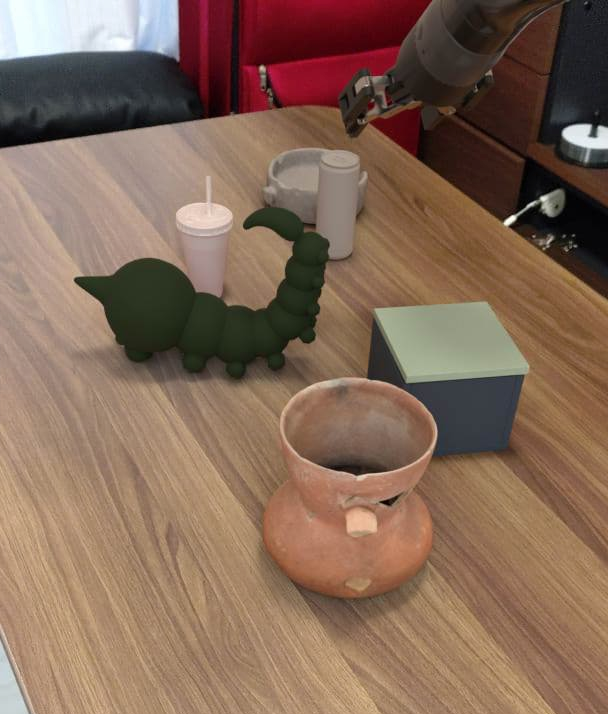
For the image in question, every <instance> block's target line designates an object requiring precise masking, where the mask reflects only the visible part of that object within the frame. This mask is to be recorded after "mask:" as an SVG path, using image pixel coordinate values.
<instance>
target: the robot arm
mask: <svg viewBox="0 0 608 714" xmlns="http://www.w3.org/2000/svg"><path fill="white" fill-rule="evenodd" d="M569 1H570V0H432V1H431V2H430V3H429V5H428V6H427V7H426V9H425V10H424V12H423V13H422V14H421V16H420V17H419V18H418V20H417V22H416V23H415V24H414V25H413V27H412V28H411V29H410V31H409V32H408V34H407V35H406V37H405V38H404V40H403V41H402V43H401V45H400V48H399V51H398V54H397V58H396V62H395V64H394V65H393V66H392V67H390V68H389V69H387V70H386V71H385V72H384V73H383V75H376V76H375V75H373V76H372V75H371V74H372V73H371V69H370V68H369V67H363V68H360V69H358V70H357V71H356V73H355V74H354V75H353V76H352V78H351V79H350V80H349V81H348V83H347V84H346V85H345V87H344V88H343V89H342V90H341V92H340V93H339V95H338V96H337V101H338V105H339V110H340V114H341V120H342V123H343V125H344V130H345V134H346V135H348V137H349V139H357V138H358V137H359V136H360V135H361V133H362V132H363V131H364V130H365V129H366V127H367V126H368V124H369V123H370V122H372V121H374V120H376V119H378V118H381V119H384V120H387V119H390V118H391V117H393V116H396V115H397V114H399V113H401V112H403V111H405V110H413V109H416V108H418V107H419V108H421V111H420V117H421V121H422V125H423V129H424V131H433V130H434V128H435V127H436V126H437V125H438V124H440V123H441V122H442V121H443V120H444V119H445V118H446V117H447V116H448V117H449V116H453V115H454V114H455V113H456V112H457V110H456V109H460V108H461V109H462V112H470V111H472V110H474V108H475V107H476V106H477V105H478V104H479V102H481V101H482V99H483V98H484V97H485V96H486V95H487V93H488V92H490V90H491V89H492V88H493V86H494V85H495V81H494V78H493V77H494V76H493V75H494V74H493V70H492V69H493V68H494V67H495V66H496V65H497V63H498V62H499V61H500V59H501V58H502V57H503V55H504V54H505V52H506V50H507V49H508V47H509V46H510V45H511V44H512V42H514V40H515V39H516V38H517V37H518V36H519V35H520V33H522V32H523V31H524V29H526V27H527V26H528V25H530V23H532V22H533V21H534V20H536V19H537V18H538V17H540V16H541V15H542V14H544V13H546V12H547V11H549V10H551V9H553V8H555V7H558V6H560V5H562V4H564V3H566V2H569ZM386 96H387V97H388V98H389V100H390V101H391V103H392V104H390V105H389V106H388V103H387V98H386ZM371 103H373V108H372V109H370V110H368V105H369V104H371Z"/></svg>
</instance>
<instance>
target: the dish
mask: <svg viewBox="0 0 608 714" xmlns="http://www.w3.org/2000/svg"><path fill="white" fill-rule="evenodd" d="M328 151H332V150H331V149H327V148H320V147H301V148H295V149H291V150H286V151H283V152H281V153H279V154H278V155H277V156H276V157H273V159H271V161H270V162H269V165H268V169H267V173H266V182H265V183H266V184H265V185H266V186H263V187H262V188H261V197H262V199H263V200H264V202H265V203H266V204H267V205H269V207H280V208H285V209H287V210H289V211H292V212H294V213H295V214H296V215H297V216H299V217H300V219H301V221H302V223H303V224H311V225H316V218H317V199H318V180H319V163H320V160H321V156H322V154H323V153H325V152H328ZM368 175H369V174H368V172H367V171H365V170H363V171H362V172H361V174H359V186H358V198H357V210H356V216H357V215H358V214H359V213H360V212H361V210H362V209H363V206H364V203H365V200H366V196H367V191H368V185H369V184H368V183H369V176H368Z"/></svg>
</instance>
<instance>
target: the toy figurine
mask: <svg viewBox="0 0 608 714" xmlns="http://www.w3.org/2000/svg"><path fill="white" fill-rule="evenodd" d="M255 227H263V228H267V229H269V230H271V231H273V232H275V233H276V235H278V236H279V237H280V238H282V239H283V240H285V241H288V242H293V244H292V246H291V253H292V255H291V256H290V257H289V258H288V259H287V261H286V263H285V267H284V277H283V279H282V280H281V281H280V282H279V284H278V287H277V289H276V294H275V297H274V298H272V300H270V301H269V303H268V305H267V306H266V307H261V308H257V309H256V310H254V309H252V308H250V307H248V306H245V305H241V304H233V305H227V303H226V302H225V301H224V300H223V299H222V298H221V297H220V298H219V297H217V296H215V295H213V294H210V293H205V292H196V291H195V288H194V286H193V284H192V283H191V281H190V279H189V278H188V275H187V273H185V272H184V271H183V270H182V269H181V268H179V267H178V266H176V265H175V264H173V263H171V262H169V261H166V260H163V259H161V258H157V257H142V258H136V259H133V260H131V261H129V262H127V263H125V264H123V265H122V266H121V267H119V268H118V269H117V270H115V272H114V273H112V274H110V275H87V276H83V275H82V276H75V277H74V278H73V283H75V284H76V285H77V286H78V287H79V288H81V289H82V290H83V291H85V293H88V294H89V295H90V296H92V297H93V298H94V299H95V300H97V301H98V302H99V303H100V304H101V305H102V307H103V311H104V316H105V319H106V321H107V324H108V326H109V328H110V330H111V332H112V333H113V334H114V339H115V342H116V343H117V344H118V345H120V346H122V347H123V348H124V353H125V356H126V357H127V358H128V359H129V360H130V361H132V362H134V363H144V362H146V361H147V360H150V359H152V357H153V355H154V353H156V354H157V353H163V352H167V351H170V350H172V349H174V348H176V349H177V350H178V351H179V352H180V353H181V354H182V355H181V364H182V367H183V369H184V370H186V371H187V372H190V374H199V373H201V372H202V371H203V370H204V369H205V368H206V367H207V363H208V361H207V360H208V359H213V358H215V357H216V358H217V359H219V360H220V361H221V362H222V363H226V364H227V365H226V368H225V371H226V373H227V374H228V376H229V377H230V378H233V379H240V378H242V377H243V376H245V373H246V370H247V364H250V363H253V362H254V361H255V360H257V359H258V358H261V359H265V360H266V361H265V362H266V365H267V368H268V369H270V370H272V371H274V372H276V371H281V370H283V368H284V367H285V365H286V358H285V354H284V353H283V351H284V350H285V349H286V348H287V347H288V345H289V342H290V341H295V340H297V339H298V338H299V340H300V341H301V343H302V344H307V345H310V344H312V343H313V342H315V341H316V338H317V333H316V331H315V328H316V325H317V323H318V318H317V316H318V315H320V314H321V310H322V308H321V305H320V303H319V302H318V301H319V299H320V298H321V295H322V293H323V292H322V291H323V289H322V288H323V287H324V285H325V283H326V280H325V273H326V270H327V265H326V263H328V261H329V259H328V258H329V254H328V249H329V247H330V242H329V241H328V239H326V238H323V237H322V236H321V235H320V234H318V233H316V231H305V228H304V222H302V221H301V219H300V217H299V216H297V215H296V214H295V213H294V212H292V211H289V210H287V209H285V208H280V207H271V206H264V207H261V208H259V209H257V210H255V211H253V212H251V214H249V215H248V216H247V217H246V218H245V219H244V221H243V222H242V228H243V229H244V230H245V231H248V230H251V229H253V228H255Z"/></svg>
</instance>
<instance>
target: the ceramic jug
mask: <svg viewBox="0 0 608 714" xmlns="http://www.w3.org/2000/svg"><path fill="white" fill-rule="evenodd" d="M278 433H279V434H278V435H279V441H280V446H281V451H282V455H283V458H284V462H285V465H286V468H287V470H288V474H289V476H290V478H288V479H287V480H285V482H283V483H281V485H280V486H279V487H278V488H277V489H276V490H275V491H274V493H273V494H272V495H271V497H270V499H269V500H268V502H267V504H266V506H265V509H264V512H263V515H262V522H261V532H262V539H263V543H264V546H265V549H266V550H267V553H268V554H269V556H270V558H271V559H272V560H273V562H274V563H275V564H276V565H277V566H278V567H279V568H280V570H281V571H282V573H283V574H284V575H285V576H286V577H287V578H289V579H290V580H291V581H293V582H294V583H296V584H298V585H299V586H302V587H303V588H305V589H307V590H309V591H312V592H315V593H317V594H320V595H324V596H328V597H333V598H338V599H339V598H340V599H365V598H372V597H375V596H380V595H383V594H385V593H389V592H391V591H393V590H395V589H397V588H399V587H400V586H403V585H404V584H406V583H408V581H410V580H411V579H412V578H413V577H414V576H415V575H416V574H417V573H419V571H420V570H421V568H423V567H424V565H425V563H426V561H427V560H428V558H429V556H430V554H431V551H432V549H433V545H434V540H435V539H434V538H435V531H434V530H435V529H434V524H433V519H432V516H431V513H430V511H429V508H428V507H427V505H426V503H425V501H424V500H423V499H422V497H421V496H420V495H419V494H418V493H417V492H416V491H415V490H414V488H415V487H416V486H417V484H418V482H419V481H420V480H421V478H422V476H423V474H424V473H425V471H426V469H427V467H428V465H429V463H430V462H431V459H432V457H433V456H432V454H433V451H434V448H435V445H436V441H437V426H436V423H435V421H434V418H433V416H432V415H431V413H430V412H429V411H428V410H427V408H426V407H425V406H424V405H423V404H422V403H421V402H420V401H418V400H417V399H416V398H415V397H414V396H412V395H411V394H409V393H407V392H406V391H404V390H403V389H400V388H398V387H396V386H394V385H392V384H389V383H386V382H382V381H377V380H369V379H367V377H366V378H365V377H353V376H351V377H350V376H349V377H348V376H347V377H338V378H334V379H328V380H324V381H319V382H315V383H313V384H311V385H308V386H306V387H305V388H303V389H301V390H299V392H297V393H295V394H294V395H293V396H292V398H290V399H289V400H288V402H287V403H286V404H285V406H284V407H283V409H282V411H281V414H280V418H279V423H278Z"/></svg>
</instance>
